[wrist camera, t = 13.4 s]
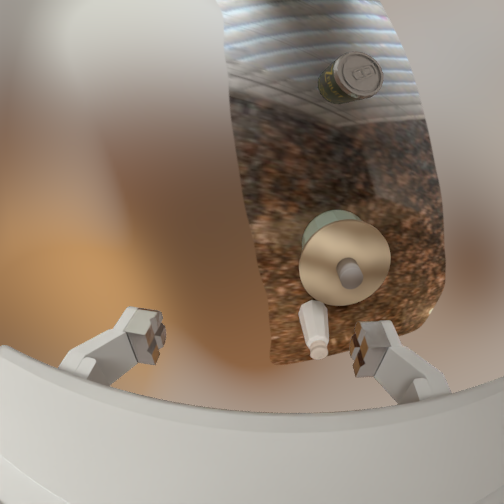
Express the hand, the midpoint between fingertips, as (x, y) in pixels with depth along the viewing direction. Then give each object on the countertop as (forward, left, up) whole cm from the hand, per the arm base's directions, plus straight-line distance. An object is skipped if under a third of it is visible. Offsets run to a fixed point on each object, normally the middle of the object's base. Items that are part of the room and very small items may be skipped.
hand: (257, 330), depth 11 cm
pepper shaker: (+24, +9, -31) cm, 40 cm away
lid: (+10, +11, -24) cm, 28 cm away
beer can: (-14, +9, -31) cm, 35 cm away
